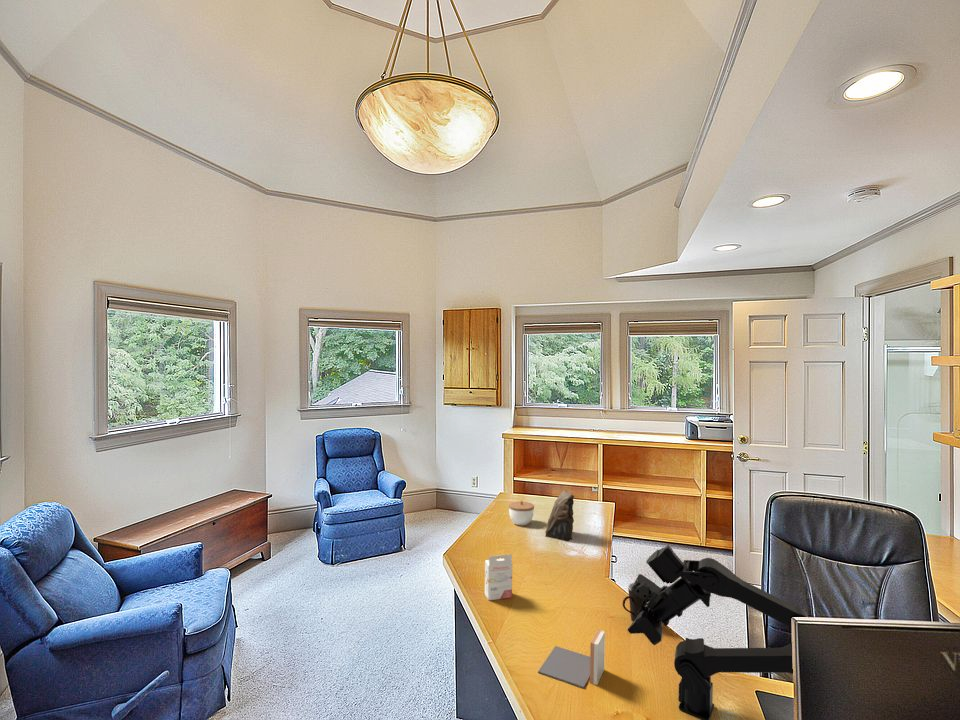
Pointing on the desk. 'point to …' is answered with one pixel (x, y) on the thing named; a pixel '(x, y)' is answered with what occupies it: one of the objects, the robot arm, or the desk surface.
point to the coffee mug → (633, 603)
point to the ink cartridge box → (498, 577)
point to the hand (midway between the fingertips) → (629, 631)
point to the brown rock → (561, 518)
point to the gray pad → (567, 666)
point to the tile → (597, 656)
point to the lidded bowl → (521, 512)
